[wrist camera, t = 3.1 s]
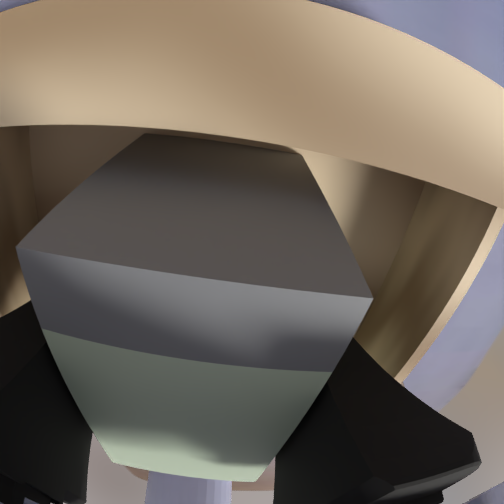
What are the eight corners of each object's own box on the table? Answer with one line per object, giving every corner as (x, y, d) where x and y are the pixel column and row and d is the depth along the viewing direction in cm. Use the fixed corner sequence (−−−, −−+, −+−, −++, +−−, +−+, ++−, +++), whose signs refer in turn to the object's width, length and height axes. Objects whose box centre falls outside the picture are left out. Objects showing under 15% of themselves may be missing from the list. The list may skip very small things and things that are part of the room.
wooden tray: (328, 382, 16) (340, 452, 12) (71, 347, 14) (44, 412, 11) (455, 90, 8) (546, 121, 4) (33, 30, 6) (-59, 37, 3)
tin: (252, 344, 13) (254, 481, 8) (146, 329, 12) (112, 461, 7) (301, 155, 9) (373, 298, 4) (145, 132, 8) (15, 246, 3)
